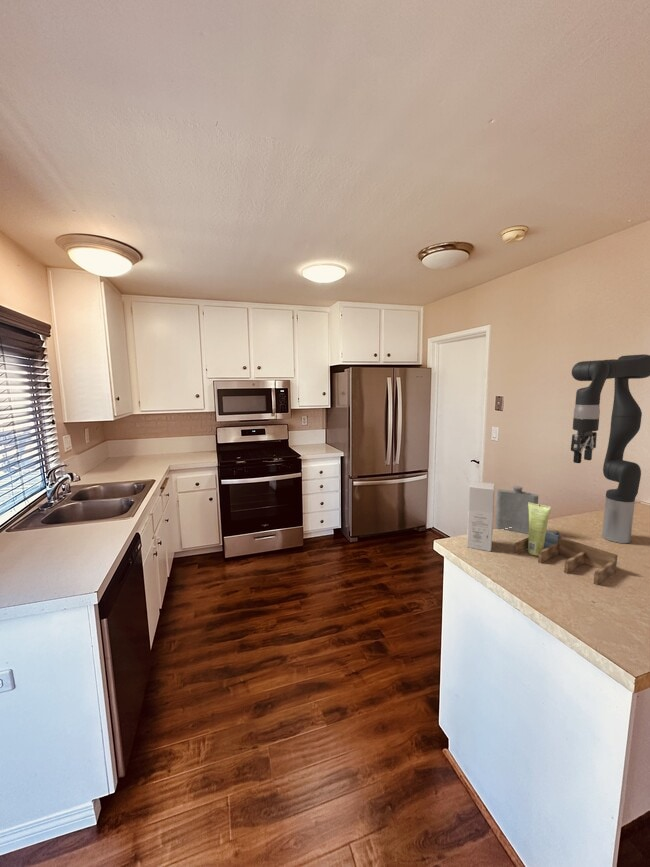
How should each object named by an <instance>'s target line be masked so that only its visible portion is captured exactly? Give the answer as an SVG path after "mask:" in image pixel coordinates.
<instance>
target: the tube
mask: <svg viewBox="0 0 650 867" xmlns="http://www.w3.org/2000/svg"><path fill="white" fill-rule="evenodd" d="M528 508H529V535H528V537H529V541H528V549H527V551H528V553H529V554H530V555H531V556H536V557H537V556H539V551H541V550H543V549H544V542H545V535H546V530H548V529H547V528H548V524H549V519H550V513H551V510H552V506H549V505H545V504H539V503H538V504H534V503H529V502H528Z"/></svg>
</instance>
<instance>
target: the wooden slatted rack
mask: <svg viewBox="0 0 650 867" xmlns="http://www.w3.org/2000/svg"><path fill="white" fill-rule="evenodd" d="M528 541H529V536H528V537H526V538H524V539H522V540H519V541H517V542H515V543H514V544H515V545H514V554H516V555H517V554H520V553H522V552H525V551H526V550H527V551H528ZM557 555H561V556H563V557H567V558H568V559H567V560H566V559H565V561H564V569H563V572H564V573H565V574H569V573H571V572H573V571H574V570H576V569H577V568H579V567H581V566H582V565H583V564H587V565H589V566H592V567H595V568H598V569H596V570H595V571H594V576H593V584H594V585H596V586H598V585H600V583H602V582H604V581H605V580H606V579H608V578H609V577H610V576H612V575H613V574H615V573H616V572H617V564H618V554H615V553H612V552H608V551H606V550H602V549H599V548H596V547H593V546H591V545H586V544H584V543H581V542H577V541H574V540H571V539H568V538H564V537H562V534H561V533H560V531H559V530H554V531H550V530H548V529H546V535H545V542H544V549H543V550H541V551H539V556H538V558H537V562H538V563H540V564H542V563H544V562H546V561H548V560H549V559H551V558H554V557H555V556H557Z"/></svg>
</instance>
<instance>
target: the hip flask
mask: <svg viewBox="0 0 650 867" xmlns="http://www.w3.org/2000/svg"><path fill="white" fill-rule="evenodd" d="M512 489H513V490H509V489H508V490H507V489H497V490H496V504H495V526H494V527H495V529H496V530H501V529H504V530H503V531H509V532H514V533H520V534H524V535H528V536H529V508H528V502H529V503H534V504H539V495H538V494H535V493H531V492H528V491H523V487H522V486H519V485H513V487H512ZM509 527H512V528H509ZM505 528H508V529H505Z"/></svg>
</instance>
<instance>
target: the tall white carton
mask: <svg viewBox="0 0 650 867" xmlns="http://www.w3.org/2000/svg"><path fill="white" fill-rule="evenodd" d="M468 490H469V491H468V492H469V493H468V510H467V512H468V513H467V531H466V533H467V534H466V537H467V538H466V548H469V549H473V550H474V549H476V550H481V551H485V552H492V546H493V535H494V533H493V532H494V531H493V530H494V513H495V493H496V491H495V490H496V483H493V482H483V481H482V482H481V481H471V483H470V484H469V489H468Z"/></svg>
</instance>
